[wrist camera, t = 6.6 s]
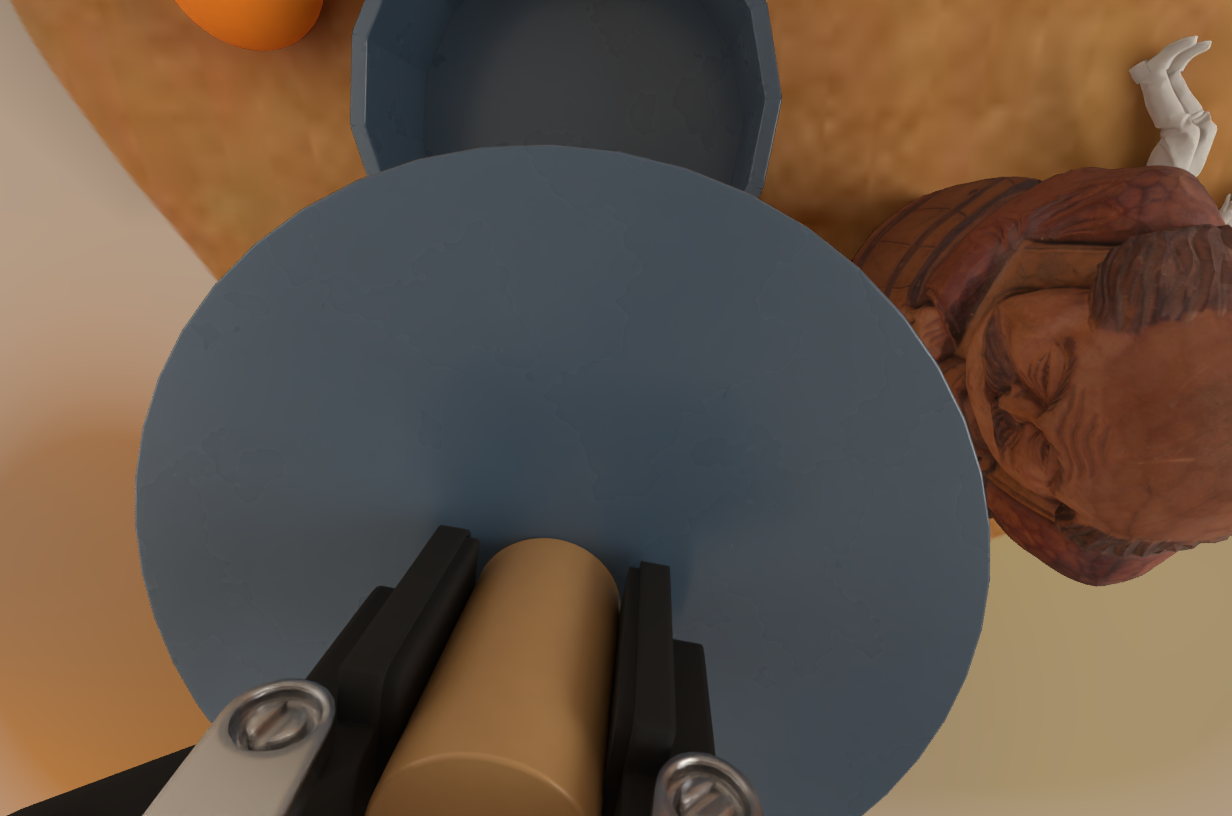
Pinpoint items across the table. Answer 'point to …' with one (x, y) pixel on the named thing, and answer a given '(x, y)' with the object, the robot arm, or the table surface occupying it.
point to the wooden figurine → (1080, 354)
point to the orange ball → (254, 20)
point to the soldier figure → (1177, 111)
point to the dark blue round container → (569, 80)
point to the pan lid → (571, 475)
